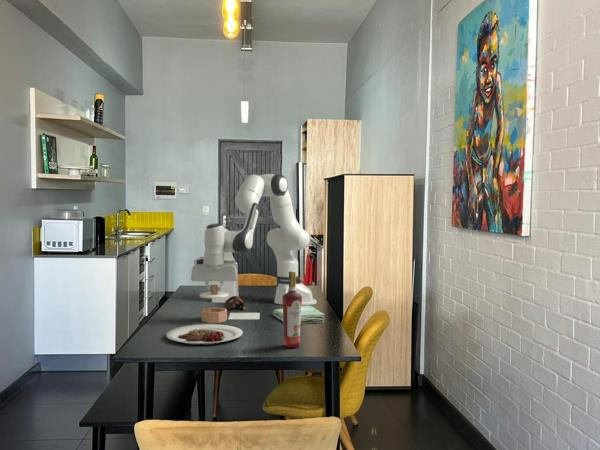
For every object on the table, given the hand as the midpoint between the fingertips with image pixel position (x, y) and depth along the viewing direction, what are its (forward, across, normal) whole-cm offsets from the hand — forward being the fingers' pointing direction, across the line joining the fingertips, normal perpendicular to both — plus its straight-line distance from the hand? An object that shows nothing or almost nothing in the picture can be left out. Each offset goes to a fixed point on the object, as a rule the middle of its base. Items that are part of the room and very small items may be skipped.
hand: (214, 291), depth 251 cm
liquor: (+14, -33, +43) cm, 56 cm away
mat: (+13, -13, -8) cm, 20 cm away
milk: (+14, -1, -50) cm, 52 cm away
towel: (+14, -38, -3) cm, 41 cm away
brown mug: (+14, -8, -24) cm, 29 cm away
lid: (+2, 0, 0) cm, 2 cm away
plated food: (+14, +1, +28) cm, 31 cm away
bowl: (+14, 0, 0) cm, 14 cm away
